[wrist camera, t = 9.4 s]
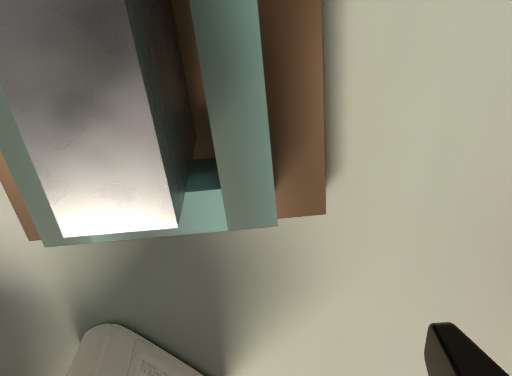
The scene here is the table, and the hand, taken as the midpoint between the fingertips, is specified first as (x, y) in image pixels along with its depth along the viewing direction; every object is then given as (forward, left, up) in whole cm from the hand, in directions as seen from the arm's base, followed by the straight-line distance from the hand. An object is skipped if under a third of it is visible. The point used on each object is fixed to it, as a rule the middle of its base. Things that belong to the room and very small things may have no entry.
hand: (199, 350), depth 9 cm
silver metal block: (+3, -3, -11) cm, 12 cm away
